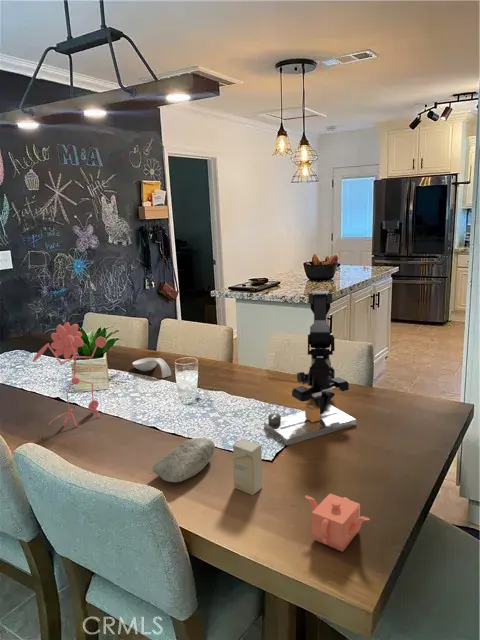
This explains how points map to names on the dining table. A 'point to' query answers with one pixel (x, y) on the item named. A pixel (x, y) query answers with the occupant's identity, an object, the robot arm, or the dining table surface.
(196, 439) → the rock
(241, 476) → the skincare box
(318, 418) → the fader
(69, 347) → the figurine
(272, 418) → the dial
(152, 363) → the spoon rest
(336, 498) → the teapot
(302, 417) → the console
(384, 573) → the dining table surface
